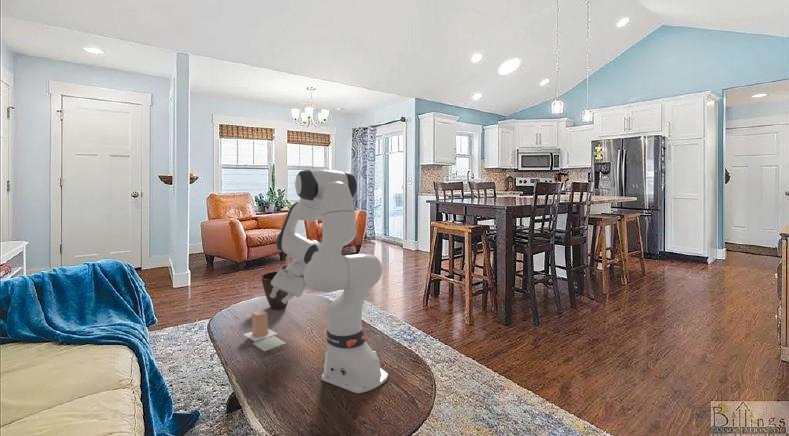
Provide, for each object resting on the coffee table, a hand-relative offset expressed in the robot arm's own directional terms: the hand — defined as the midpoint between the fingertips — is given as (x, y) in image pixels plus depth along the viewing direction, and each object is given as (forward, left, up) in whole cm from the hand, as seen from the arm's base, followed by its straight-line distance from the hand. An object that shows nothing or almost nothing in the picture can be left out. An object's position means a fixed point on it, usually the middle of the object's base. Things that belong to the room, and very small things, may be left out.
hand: (277, 299), depth 162 cm
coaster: (-12, +10, -12) cm, 20 cm away
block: (-1, +8, -12) cm, 15 cm away
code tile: (-1, +8, -12) cm, 15 cm away
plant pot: (+23, -14, -13) cm, 30 cm away
